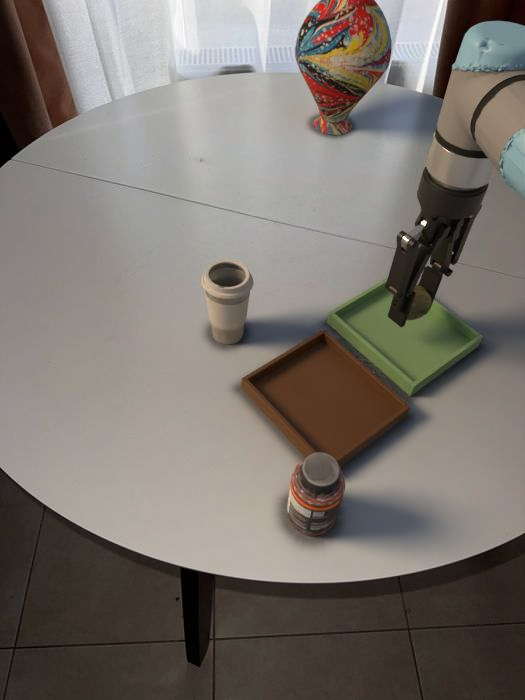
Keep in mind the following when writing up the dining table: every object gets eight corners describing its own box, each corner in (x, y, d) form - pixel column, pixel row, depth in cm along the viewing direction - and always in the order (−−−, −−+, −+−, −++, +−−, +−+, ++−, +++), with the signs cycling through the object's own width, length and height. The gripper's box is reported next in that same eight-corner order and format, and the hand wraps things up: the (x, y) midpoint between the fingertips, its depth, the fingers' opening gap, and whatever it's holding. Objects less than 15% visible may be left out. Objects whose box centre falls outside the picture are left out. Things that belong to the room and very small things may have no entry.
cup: (197, 343, 85) (193, 284, 76) (212, 312, 89) (210, 252, 80) (244, 354, 84) (245, 296, 75) (256, 322, 88) (259, 263, 79)
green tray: (478, 346, 87) (483, 336, 85) (410, 396, 81) (414, 386, 79) (394, 282, 95) (397, 271, 94) (326, 322, 89) (328, 312, 87)
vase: (284, 143, 121) (296, -19, 98) (293, 99, 133) (306, -54, 110) (375, 153, 120) (409, -9, 97) (376, 108, 132) (406, -45, 109)
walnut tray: (407, 416, 79) (411, 406, 77) (324, 478, 72) (327, 469, 70) (322, 339, 87) (324, 328, 85) (241, 388, 80) (241, 378, 79)
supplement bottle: (317, 482, 72) (329, 434, 63) (345, 522, 69) (362, 477, 60) (276, 504, 70) (282, 458, 61) (303, 547, 67) (314, 504, 58)
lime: (430, 315, 84) (440, 291, 81) (408, 329, 82) (416, 305, 79) (408, 297, 87) (417, 272, 83) (385, 311, 85) (393, 286, 81)
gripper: (479, 135, 72) (430, 273, 90) (379, 184, 64) (346, 324, 82) (530, 163, 68) (468, 301, 86) (430, 218, 61) (385, 357, 79)
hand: (409, 312), depth 84 cm, fingers closed on lime, 5 cm apart
